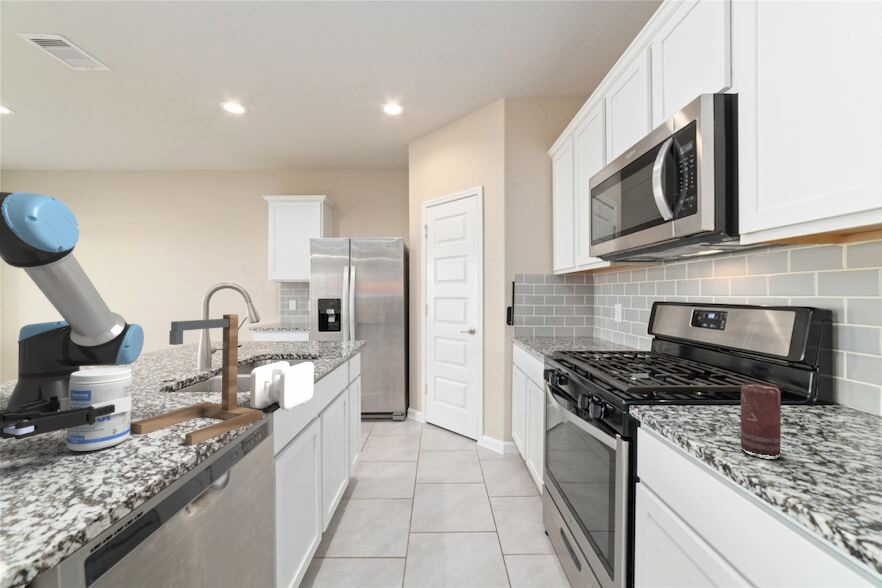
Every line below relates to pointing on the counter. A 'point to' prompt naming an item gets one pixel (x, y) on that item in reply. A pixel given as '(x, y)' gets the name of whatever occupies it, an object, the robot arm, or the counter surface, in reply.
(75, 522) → the counter surface
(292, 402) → the cable organizer
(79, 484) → the counter surface
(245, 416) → the wooden hook stand
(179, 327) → the hook arm
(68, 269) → the robot arm
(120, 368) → the supplement tub
